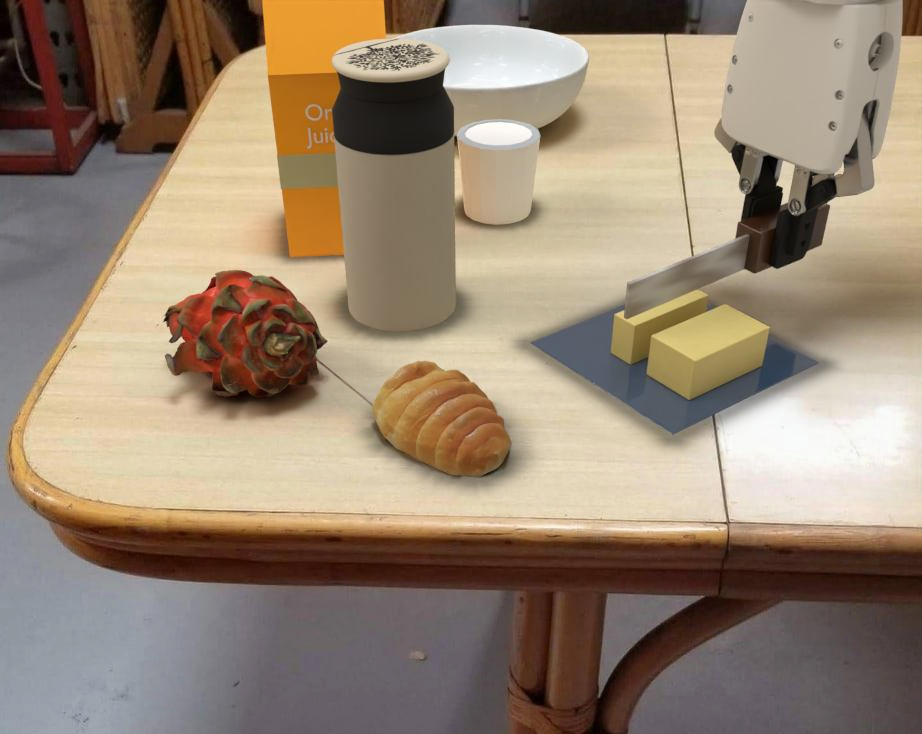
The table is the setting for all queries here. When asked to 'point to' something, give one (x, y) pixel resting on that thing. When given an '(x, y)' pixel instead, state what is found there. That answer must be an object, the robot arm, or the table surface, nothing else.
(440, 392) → the pastry
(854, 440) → the table surface
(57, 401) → the table surface
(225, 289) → the dragon fruit
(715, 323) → the butter block
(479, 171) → the cup of milk
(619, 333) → the butter slice
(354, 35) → the orange juice
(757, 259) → the knife
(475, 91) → the serving bowl
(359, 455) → the table surface
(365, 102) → the travel mug
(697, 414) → the butter dish
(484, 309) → the table surface
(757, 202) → the robot arm
